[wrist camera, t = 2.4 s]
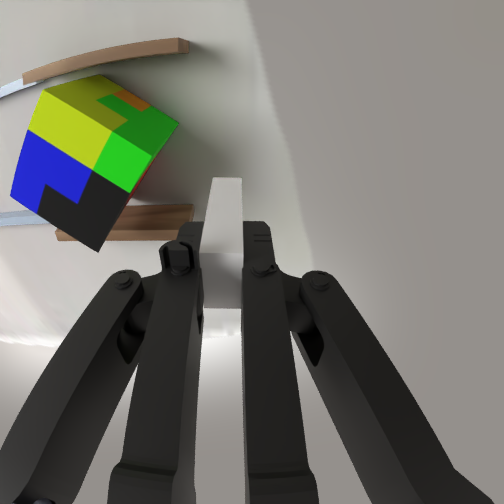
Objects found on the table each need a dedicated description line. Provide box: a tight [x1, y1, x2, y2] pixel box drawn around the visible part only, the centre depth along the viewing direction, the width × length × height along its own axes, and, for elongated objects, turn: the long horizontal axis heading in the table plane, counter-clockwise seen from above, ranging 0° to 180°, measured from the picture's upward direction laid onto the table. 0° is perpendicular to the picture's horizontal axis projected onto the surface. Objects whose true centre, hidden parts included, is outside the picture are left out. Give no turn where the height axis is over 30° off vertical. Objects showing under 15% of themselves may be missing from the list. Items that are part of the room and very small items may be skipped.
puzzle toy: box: [10, 74, 179, 252], centre depth 22 cm, size 10×10×10 cm
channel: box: [22, 38, 194, 241], centre depth 24 cm, size 18×15×5 cm
